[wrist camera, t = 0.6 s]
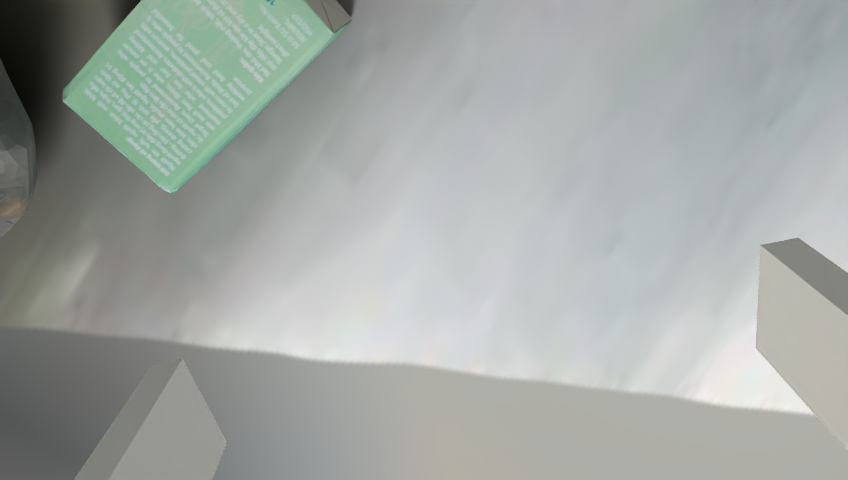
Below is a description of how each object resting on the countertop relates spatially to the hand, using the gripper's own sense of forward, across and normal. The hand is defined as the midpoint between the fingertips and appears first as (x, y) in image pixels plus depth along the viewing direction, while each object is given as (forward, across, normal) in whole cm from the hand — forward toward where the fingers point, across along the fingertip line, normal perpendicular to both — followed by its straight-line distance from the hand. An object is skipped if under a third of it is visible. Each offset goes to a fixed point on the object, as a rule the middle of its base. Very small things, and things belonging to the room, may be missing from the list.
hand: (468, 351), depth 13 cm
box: (+26, -12, +6) cm, 29 cm away
